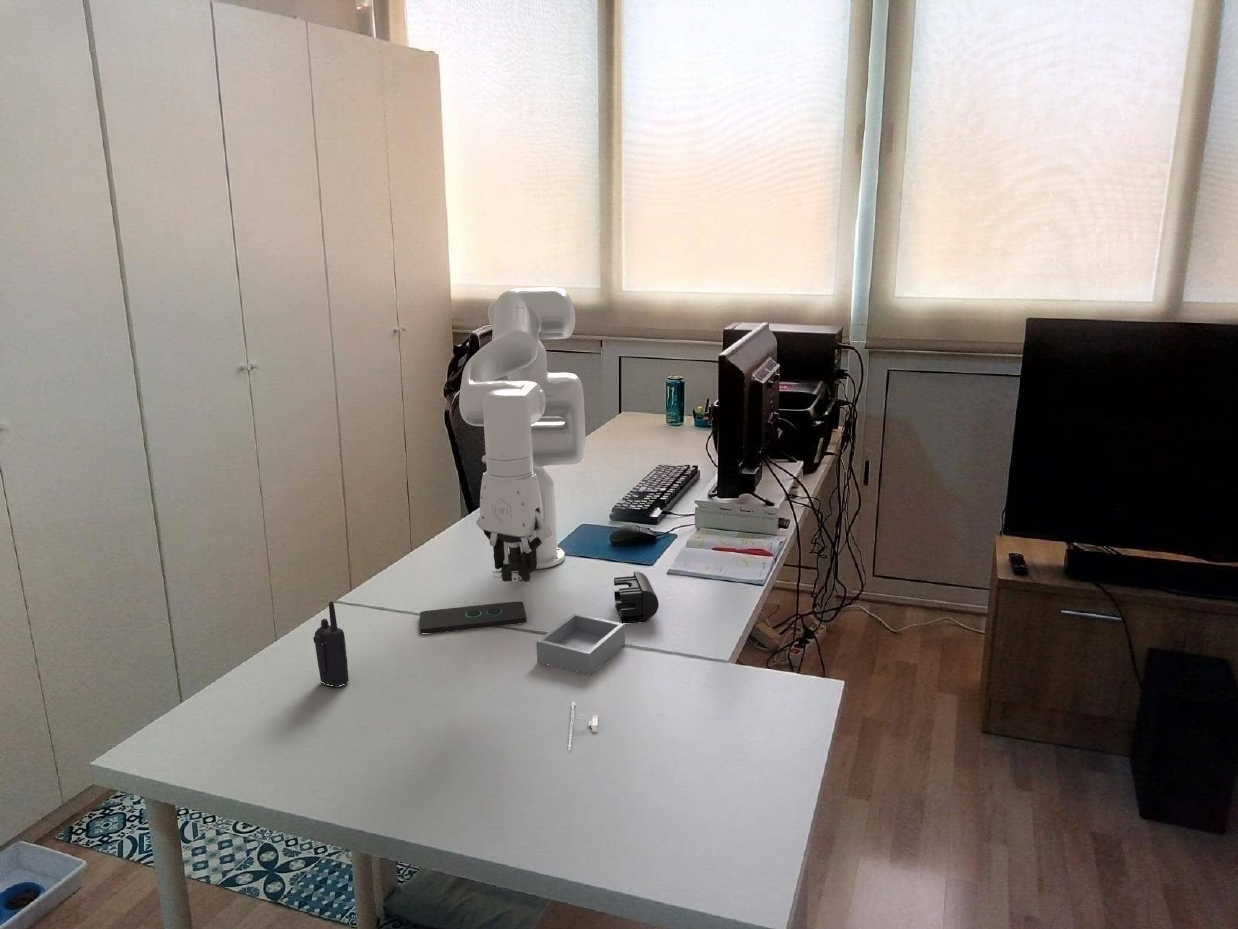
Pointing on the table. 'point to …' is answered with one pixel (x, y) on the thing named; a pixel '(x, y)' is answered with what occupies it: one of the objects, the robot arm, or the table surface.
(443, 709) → the table surface
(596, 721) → the picture light
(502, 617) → the smart home device
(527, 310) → the robot arm
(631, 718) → the table surface
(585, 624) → the rectangular tray
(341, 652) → the two-way radio
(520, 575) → the push button
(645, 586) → the end cap
